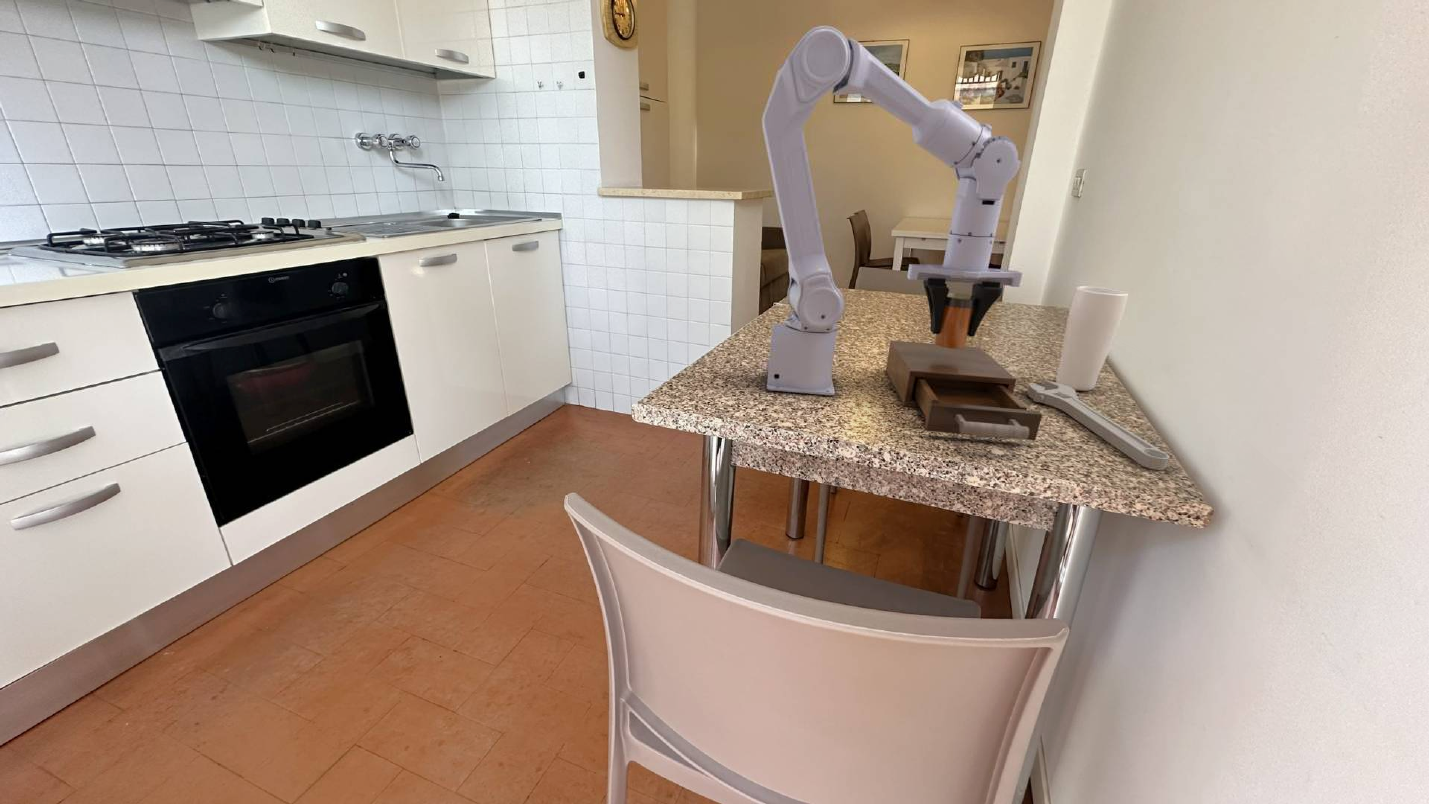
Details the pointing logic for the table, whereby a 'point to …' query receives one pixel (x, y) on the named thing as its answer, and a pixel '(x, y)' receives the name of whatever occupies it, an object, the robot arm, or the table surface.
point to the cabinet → (940, 367)
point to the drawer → (974, 409)
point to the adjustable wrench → (1098, 424)
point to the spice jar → (955, 321)
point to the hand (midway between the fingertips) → (951, 333)
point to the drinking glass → (1089, 335)
